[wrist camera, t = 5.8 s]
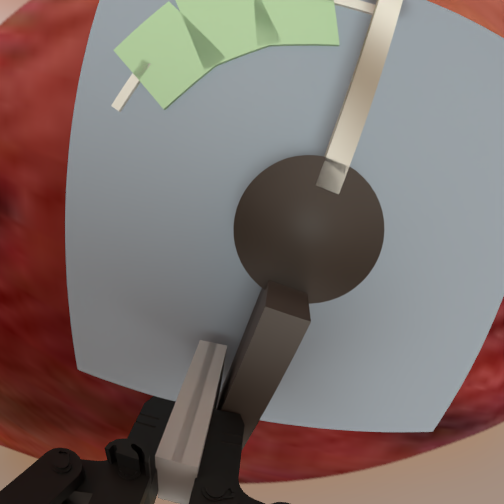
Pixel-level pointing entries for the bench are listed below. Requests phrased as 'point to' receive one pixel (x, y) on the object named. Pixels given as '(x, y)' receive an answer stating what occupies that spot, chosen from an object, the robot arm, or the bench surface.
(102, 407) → the bench surface
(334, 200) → the dark long piece
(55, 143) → the bench surface
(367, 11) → the tuner board
